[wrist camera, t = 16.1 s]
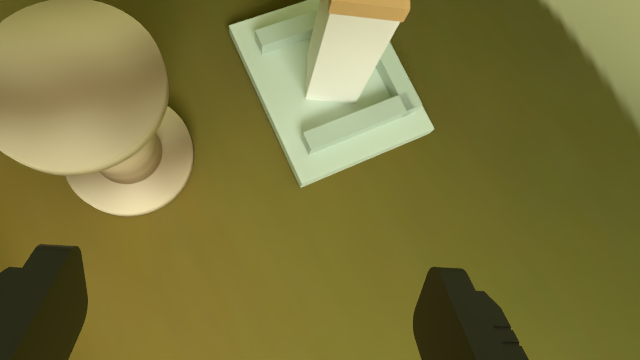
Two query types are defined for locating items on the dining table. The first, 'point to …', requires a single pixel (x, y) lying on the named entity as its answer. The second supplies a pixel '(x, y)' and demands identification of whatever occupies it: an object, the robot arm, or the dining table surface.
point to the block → (349, 45)
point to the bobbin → (92, 105)
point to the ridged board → (324, 116)
